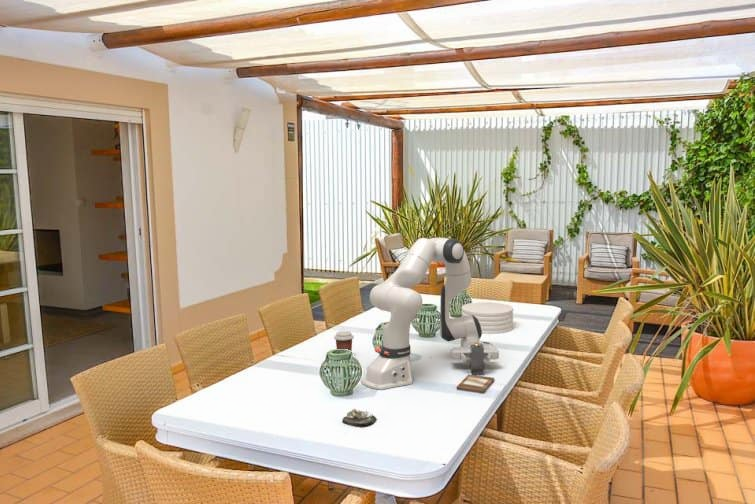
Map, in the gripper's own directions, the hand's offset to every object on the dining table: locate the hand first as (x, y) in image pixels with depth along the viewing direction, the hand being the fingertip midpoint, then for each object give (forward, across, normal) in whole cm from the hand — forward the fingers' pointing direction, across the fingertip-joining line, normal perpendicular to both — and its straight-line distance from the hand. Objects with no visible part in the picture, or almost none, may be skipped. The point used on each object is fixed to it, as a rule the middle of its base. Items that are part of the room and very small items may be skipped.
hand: (477, 359), depth 251 cm
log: (+49, -47, +7) cm, 68 cm away
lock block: (-1, 0, +6) cm, 7 cm away
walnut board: (+14, -2, +6) cm, 15 cm away
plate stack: (-79, +16, +7) cm, 80 cm away
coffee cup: (-24, -59, +7) cm, 64 cm away
